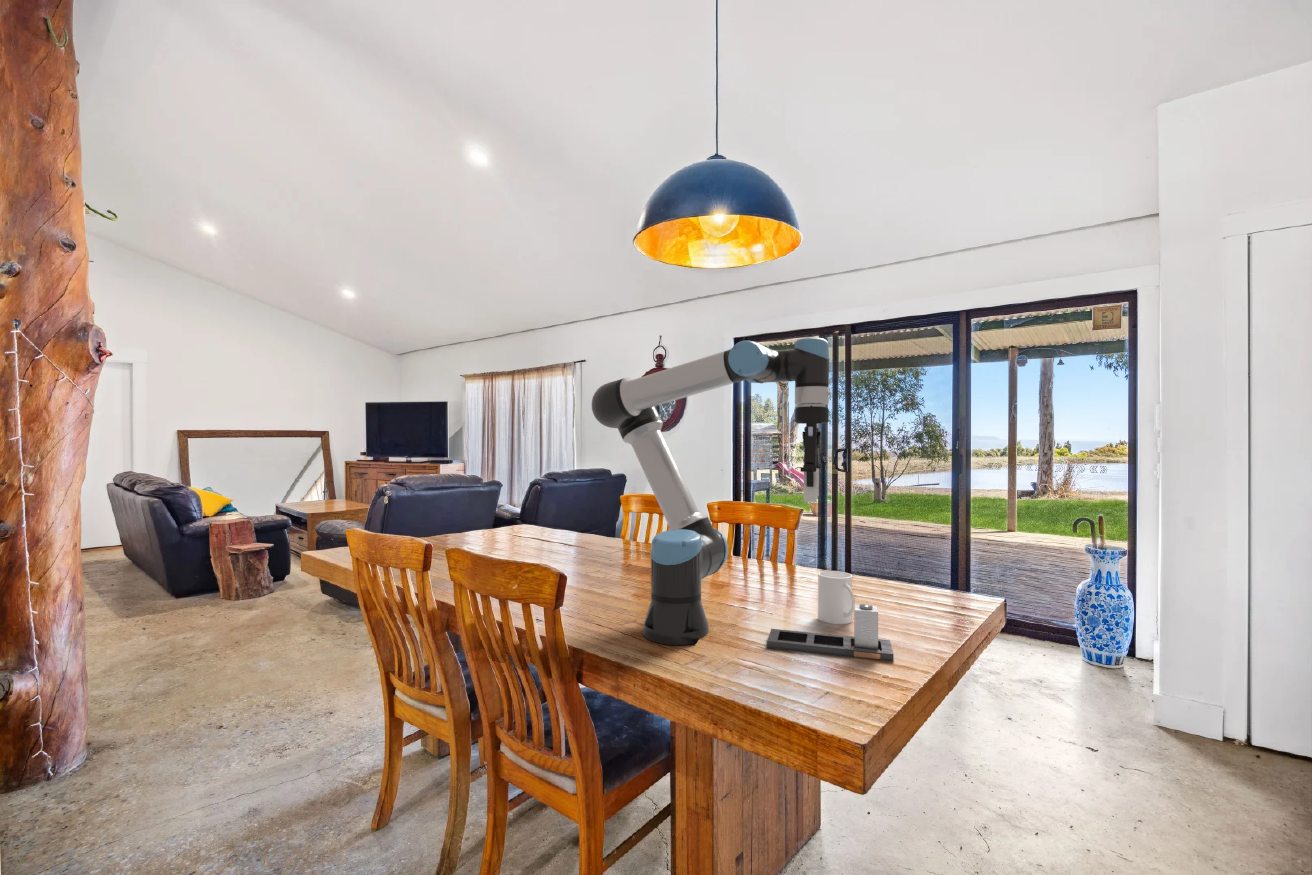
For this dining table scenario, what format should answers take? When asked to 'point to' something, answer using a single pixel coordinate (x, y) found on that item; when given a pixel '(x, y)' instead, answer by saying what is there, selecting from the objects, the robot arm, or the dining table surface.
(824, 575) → the mug
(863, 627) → the grey block with knob
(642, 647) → the dining table surface
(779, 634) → the tray with compartments
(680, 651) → the dining table surface
